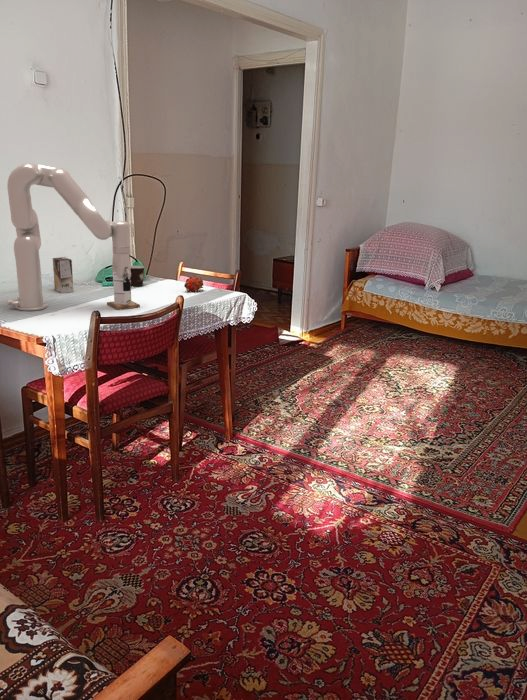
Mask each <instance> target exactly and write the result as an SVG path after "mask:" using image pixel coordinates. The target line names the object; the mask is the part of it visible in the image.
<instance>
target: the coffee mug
mask: <svg viewBox="0 0 527 700" xmlns="http://www.w3.org/2000/svg"><path fill="white" fill-rule="evenodd" d="M130 269H131V287H132V286H133V288H140V287H143V286H144V275H145V266H143V265H130Z"/></svg>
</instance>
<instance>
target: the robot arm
mask: <svg viewBox="0 0 527 700" xmlns="http://www.w3.org/2000/svg"><path fill="white" fill-rule="evenodd" d="M33 185H37V186H42V187H47V188H53V189H54V190H55V191H56V192H57V194H59V196H60V197H61V198H62V199H63V200H64V202H66V204H67V205H68V206H69V208H70V209H71V210H72V211H73V213H74V214H75V215H76V216H77V217H78V218H79V219H80V221H81V222H82V223H83V224H84V225H85V227H86V228H88V230H89V231H90V233H92V234H93V236H94V237H96V239H98V240H101V241H107V240H108V239H109V238H111V240H112V242H111V243H112V247H111V248H112V264H111V266H112V267H111V269H112V270H111V271H112V272H111V273H112V274H113V272H117V276H118V277H123V280H124V282H123V291H130V290H131V291H132V287H131V288H130V282H131V269H130V266H131V258H130V255H131V231H130V230H131V226H130V223H129V222H127V221H122V220H121V221H120V220H118V221H117V220H116V221H109V220H105V218H103V216H102V215H101V214H100V213H99V211H98V210H97V209H96V208H95V206H94V205H93V203H92V201H91V199H90V197H89V196H88V195H87V193H86V192H85V191H84V190H83V189H82V188H81V186H80V185H79V184H78V183H77V182H76V181H75V179H73V177H72V176H71V173H70V172H69V171H68V170H67V169H65V168H59V167H55V166H48V165H43V164H38V163H33V162H25V163H22V164H20V165H18V166H17V167H16V168H14V169H13V170H12V171H11V172H10V174H9V176H8V179H7V195H8V196H7V197H8V203H9V210H10V211H9V212H10V220H11V223H12V225H13V227H15V232H16V233H15V234H16V238H15V239H14V241H13V252H14V260H15V267H16V269H15V270H16V279H17V280H16V281H17V288H18V289H17V291H18V296H17V297H16V298H15V299H9V300H7V301H6V303H7V305H12V306H15V309H17V310H20V311H27V312H28V311H41V310H44V309H47V308H48V304H47V303H46V302H44V296H43V283H42V281H43V280H42V271H41V260H40V259H41V258H40V248H41V246H42V239H41V231H40V225H39V218H38V214H37V212H36V210H34V209H33V204H32V198H31V197H32V196H31V190H30V189H31V186H33ZM124 273H125V275H124ZM125 278H126V279H125Z"/></svg>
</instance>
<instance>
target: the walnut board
mask: <svg viewBox="0 0 527 700" xmlns="http://www.w3.org/2000/svg"><path fill="white" fill-rule="evenodd" d="M106 306H109V307H110V308H111V309H114V310H116V311H120V309H121V310H129V309H138V307H141V305H140V303H137V302H135V301H133V300H131V303H129V304H127V305H120V304H115V303H114V301H108V302H106Z"/></svg>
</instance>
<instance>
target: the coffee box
mask: <svg viewBox="0 0 527 700" xmlns="http://www.w3.org/2000/svg"><path fill="white" fill-rule="evenodd" d="M52 268H53V269H52V270H53V282H54V283H53V284H54V290H55V291H56V292H58V293H61V294H65V293H66V292H67V293H74V280H73V279H74V278H73V276H74V275H73V261H72V259H70V258H68V257H64V256H60V257H53V258H52Z"/></svg>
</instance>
